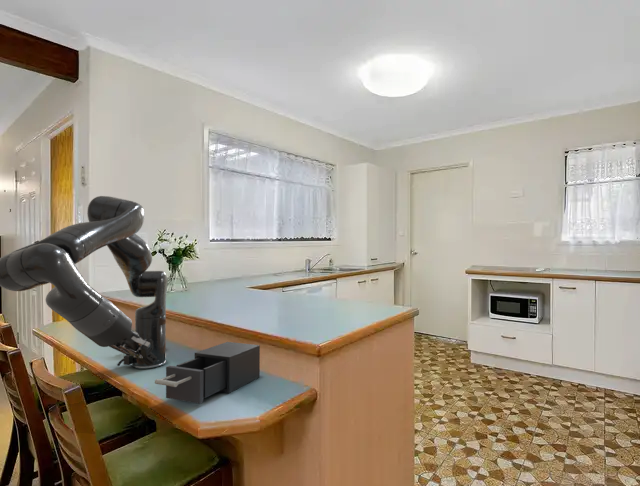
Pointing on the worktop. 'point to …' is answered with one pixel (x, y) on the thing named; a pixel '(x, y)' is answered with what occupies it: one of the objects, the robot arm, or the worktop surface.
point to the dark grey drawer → (195, 379)
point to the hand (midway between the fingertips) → (152, 361)
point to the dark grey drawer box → (236, 362)
